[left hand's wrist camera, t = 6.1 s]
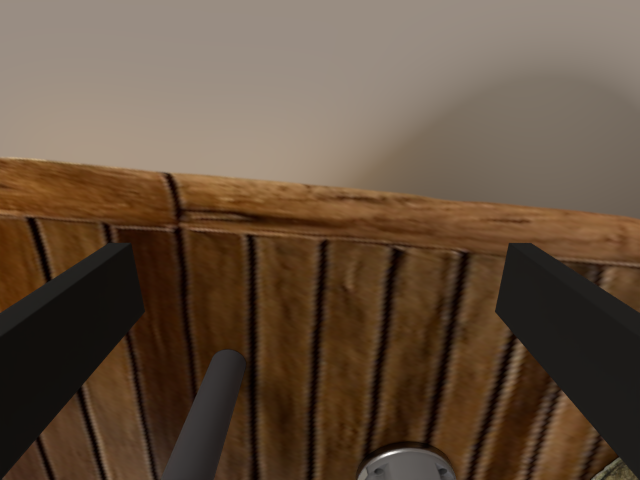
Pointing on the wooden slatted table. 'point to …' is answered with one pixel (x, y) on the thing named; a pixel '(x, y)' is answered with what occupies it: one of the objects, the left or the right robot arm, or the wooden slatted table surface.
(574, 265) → the wooden slatted table surface
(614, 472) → the fossil
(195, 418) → the dark grey cylinder
